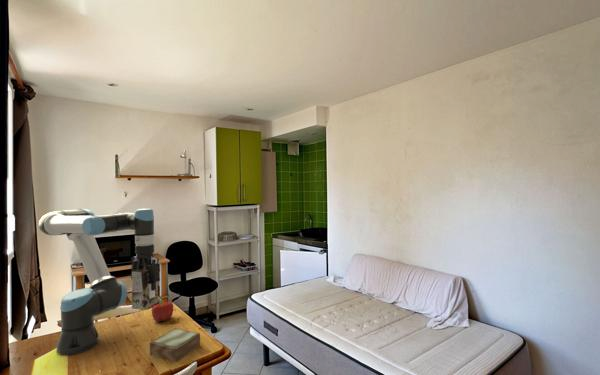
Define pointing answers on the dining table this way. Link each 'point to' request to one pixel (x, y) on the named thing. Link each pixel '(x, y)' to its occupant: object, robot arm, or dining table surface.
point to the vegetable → (162, 311)
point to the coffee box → (142, 290)
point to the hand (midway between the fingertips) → (145, 296)
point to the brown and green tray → (174, 344)
